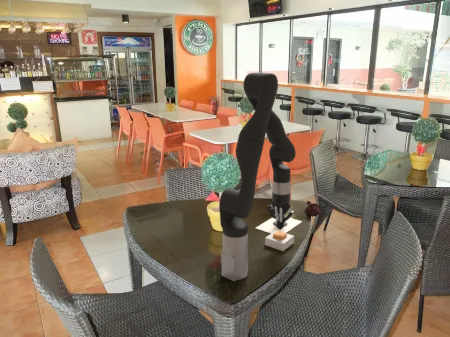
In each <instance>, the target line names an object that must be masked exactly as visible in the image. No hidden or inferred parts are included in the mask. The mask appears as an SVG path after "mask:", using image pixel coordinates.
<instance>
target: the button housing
mask: <svg viewBox="0 0 450 337" xmlns="http://www.w3.org/2000/svg"><path fill="white" fill-rule="evenodd" d="M275 232H277V230H276V231H274V232H273V233H271V234H270V233H269V234H268V235H267V236H266V237H265V238H264V239H265V240H264V244H265V246H267V247H270V248H273V249H276V250H279V251H281V252H284V251H285V250H287V249H288V248H289V247H292V245H293V244H295V235H292V234H289V233H287V237H286V238H285V239H283V240H282V241H281V240H279V239H276V238H273V234H274V233H275Z"/></svg>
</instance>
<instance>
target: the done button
mask: <svg viewBox="0 0 450 337" xmlns="http://www.w3.org/2000/svg"><path fill="white" fill-rule="evenodd" d="M287 234H288V232H287V233H284V232H281V231H277V232H275V233H274V234H273V238H276V239H279V240H281V241H282V240H283V239H285V238H286V237H287Z"/></svg>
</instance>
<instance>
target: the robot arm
mask: <svg viewBox="0 0 450 337" xmlns="http://www.w3.org/2000/svg"><path fill="white" fill-rule="evenodd" d="M242 84H243V85H242V86H243V92H244V94H245V96H246V98H247V100H248V101H249V103H250V105H251V106H252V109H254V112H253V114H252V115H251V117H250V118H249V120H248V121H247V122H246V123H245V124H244V126H243V127H242V128H241V130H240V131H239V133H238V138H237V142H236V147H235V156H236V161H237V165H238V168H239V171H240V176H241V178H240V180H241V181H240V188H239V189H240V190H239V189H236V188H230V187H229V188H226V189H224V190H223V191H222V193H221V195H220V196H219V203H218V204H219V205H218V207H219V208H218V209H219V221H220V226H221V229H222V252H221V256H220V257H221V259H220V260H221V263H220V264H221V277H224V278H226V279H228V280H230V281H233V282H236V281H241V280H243V279H245V278H246V277H247V276H248V275H249V274H248V273H249V272H248V271H249V270H248V269H249V264H248V261H249V260H248V259H249V256H248V255H249V250H248V249H249V226H248V224H247V223H246V221H244V220H243V219H246V218H248V217H249V216H250V214H251V212H252V210H253V206H254V201H255V194H256V186H257V185H256V183H257V178H258V177H257V176H258V171H259V167H260V162H261V159H262V153H263V149H264V145H265V140H266V139H265V138H266V137H267V139H268V142H269V143H270V144H271V146H270V147H269V151H268V154H269V155H268V156H269V159H270V163H271V168H272V186H271V187H272V188H271V190H272V192H271V201H272V202H271V204H268V205H267V206H266V209H267V210H268V213H270V216H271V218H272V217H273V218H275V219H276V220H277V228H278V229H280V230H281V229H282V228H284V222H286V221H287V220H288V219H289V218H292V216H293V215H295V213H296V212H295V210H293V209H292V207H291V204H290V203H291V188H292V187H291V186H292V184H291V168H290V167H289V166H288V165H285V164H284V163H291V162H293V161H294V160H295V157H296V156H297V154H296V148H295V146H294V144H293V142H292V141H291V140H290V138H289V137H288V135H287V134H286V131H285V127H284V124H283V122H282V120H281V119H280V117H279V115H278V114H276V112H275V111H274V110H273V106H274V104H275V100H276V97H277V94H278V88H279V79H278V77H277V75H276V74H275V73H273V72H250V73H248V74H247V75H245V77H244V80H243V83H242Z"/></svg>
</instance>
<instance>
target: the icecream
mask: <svg viewBox="0 0 450 337" xmlns="http://www.w3.org/2000/svg"><path fill="white" fill-rule="evenodd" d="M306 205H307V206H306V207H305V209H304V211H305V212H306V213H307V214H308V216H310V217H317V216H322V212H321V211H322V209H321V207H320V205H319V204H318V203H314V202H311V201H310V200H307V201H306Z"/></svg>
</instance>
